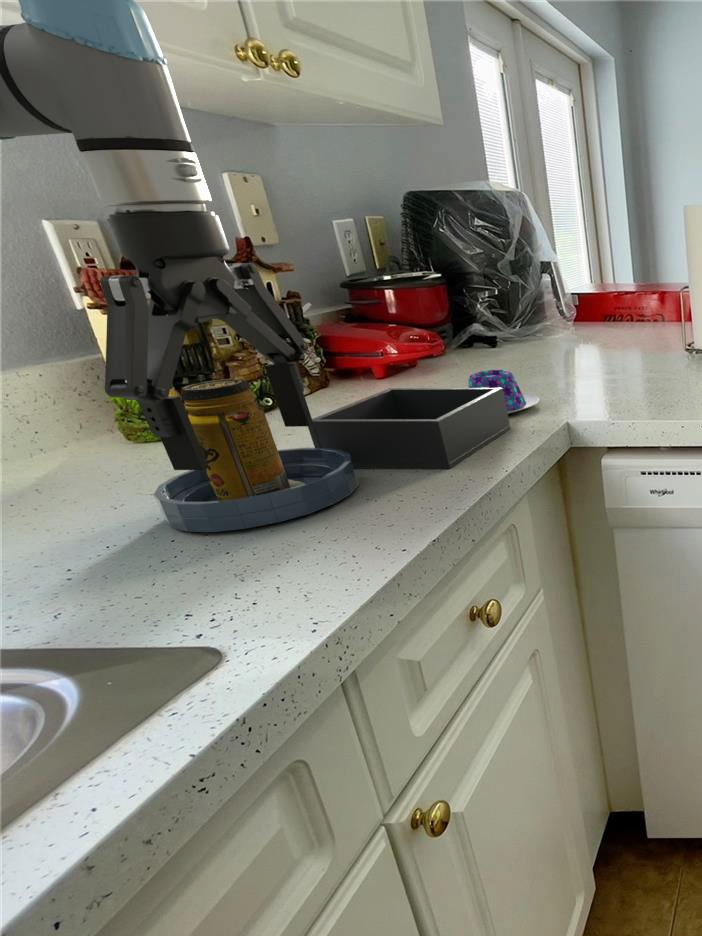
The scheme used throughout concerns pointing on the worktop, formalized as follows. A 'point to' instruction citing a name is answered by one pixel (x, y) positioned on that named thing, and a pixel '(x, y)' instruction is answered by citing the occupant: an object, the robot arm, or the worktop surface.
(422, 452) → the bin
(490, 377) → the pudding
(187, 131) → the robot arm
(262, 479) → the condiment
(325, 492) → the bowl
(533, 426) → the worktop surface
